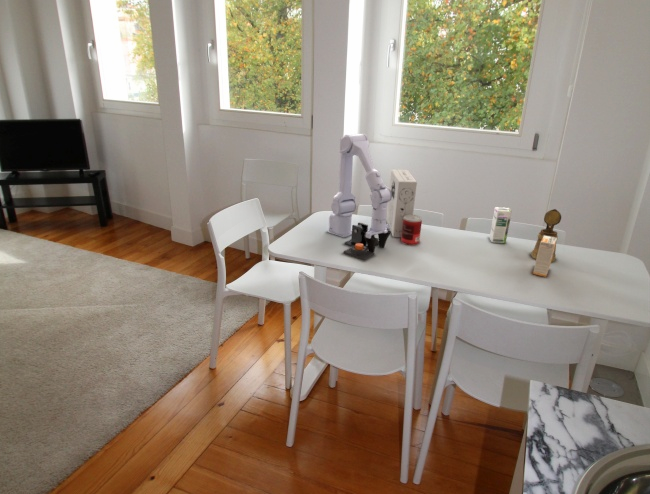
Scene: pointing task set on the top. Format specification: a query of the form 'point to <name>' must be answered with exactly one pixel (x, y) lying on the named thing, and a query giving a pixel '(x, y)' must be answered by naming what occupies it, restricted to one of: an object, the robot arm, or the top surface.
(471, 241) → the top surface
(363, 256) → the control block
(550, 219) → the brass disc-topped stand
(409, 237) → the canned food
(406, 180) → the cereal box
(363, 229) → the lever
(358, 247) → the button
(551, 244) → the supplement box
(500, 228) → the syrup box
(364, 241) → the bracket
